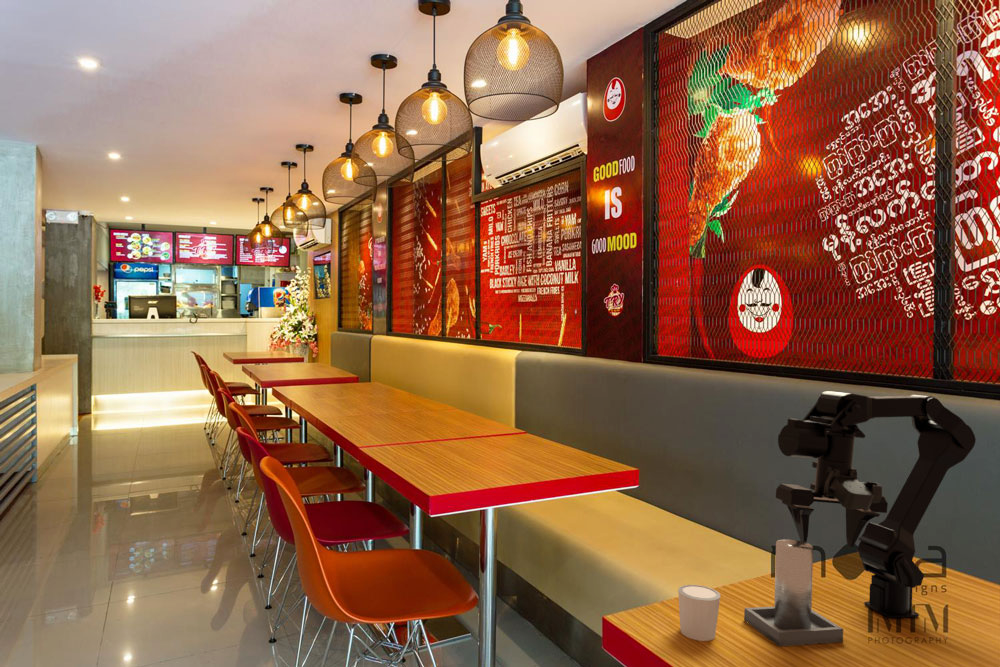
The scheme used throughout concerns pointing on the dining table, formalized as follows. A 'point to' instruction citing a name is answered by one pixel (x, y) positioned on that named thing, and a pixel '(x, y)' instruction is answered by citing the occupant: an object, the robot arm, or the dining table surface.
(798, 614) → the silver metal cylinder
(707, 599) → the white cup
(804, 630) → the tray
